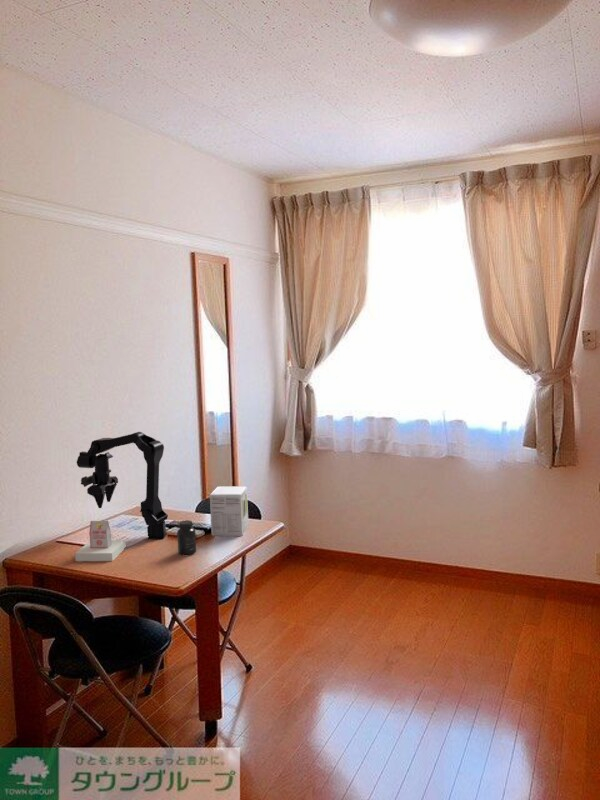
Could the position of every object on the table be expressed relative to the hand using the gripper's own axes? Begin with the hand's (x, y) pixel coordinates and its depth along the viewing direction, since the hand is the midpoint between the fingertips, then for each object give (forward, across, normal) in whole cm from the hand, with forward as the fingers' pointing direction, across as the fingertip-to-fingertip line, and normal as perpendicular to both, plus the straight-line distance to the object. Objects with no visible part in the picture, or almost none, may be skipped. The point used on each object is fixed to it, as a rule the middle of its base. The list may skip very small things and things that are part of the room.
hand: (104, 504), depth 253 cm
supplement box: (+12, -1, +53) cm, 54 cm away
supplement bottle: (+12, +24, +41) cm, 49 cm away
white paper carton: (+9, +25, +8) cm, 28 cm away
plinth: (+12, +25, +8) cm, 29 cm away
